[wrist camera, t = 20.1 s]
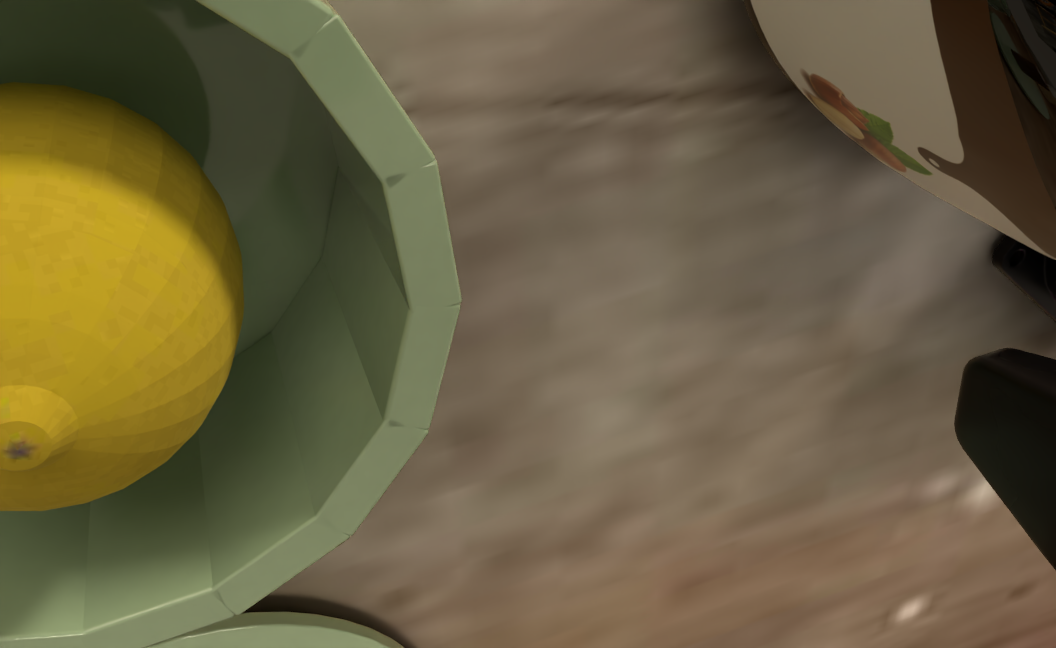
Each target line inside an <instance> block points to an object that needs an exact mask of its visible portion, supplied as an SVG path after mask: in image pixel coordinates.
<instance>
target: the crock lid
mask: <svg viewBox="0 0 1056 648" xmlns="http://www.w3.org/2000/svg"><path fill="white" fill-rule="evenodd" d="M146 648H405V647H403V646H402V645H400V644H399V643H397V642H396V641H395V640H393V639H392V638H390V637H388V636H386V635H384V634H382V633H380V632H378V631H376V630H374V629H371V628H369V627H366V626H363V625H360V624H357V623H354V622H351V621H348V620H345V619H340V618H335V617H329V616H324V615H319V614H310V613H298V612H249V613H241V614H240V615H234V616H233V617H232V618H229V619H227V620H224V621H221V622H218V623H215V624H212V625H209V626H206V627H203V628H201V629H198V630H195V631H192V632H189V633H186V634H183V635H180V636H177V637H174V638H172V639H169V640H166V641H163V642H160V643H157V644H154V645H151V646H148V647H146Z"/></svg>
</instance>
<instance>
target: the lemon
mask: <svg viewBox="0 0 1056 648" xmlns="http://www.w3.org/2000/svg"><path fill="white" fill-rule="evenodd" d="M243 315H244V291H243V269H242V256H241V251H240V247H239V244H238V241H237V238H236V235H235V232H234V230H233V227H232V224H231V221H230V218H229V215H228V213H227V210H226V207H225V204H224V202H223V200H222V198H221V196H220V195H219V193H218V192H217V190H216V189H215V188H214V186H213V185H212V183H211V182H210V180H209V179H208V177H207V176H206V174H205V173H204V172H203V170H202V169H201V167H200V166H199V164H198V163H197V161H196V160H195V159H194V158H193V156H192V155H191V154H190V153H189V152H188V151H187V150H186V149H184V148H183V147H182V146H181V145H180V144H179V143H178V142H177V141H175V140H174V139H173V138H172V137H171V136H170V135H169V134H168V133H166V132H165V131H164V130H163V129H162V128H161V127H160V126H159V125H157V124H156V123H155V122H153V121H151V120H149V119H148V118H146V117H144V116H142V115H140V114H138V113H136V112H135V111H133V110H131V109H129V108H127V107H125V106H123V105H122V104H120V103H118V102H116V101H114V100H112V99H110V98H106V97H103V96H99V95H96V94H92V93H89V92H85V91H82V90H78V89H75V88H71V87H68V86H64V85H50V84H35V83H20V82H10V83H4V84H0V511H45V510H50V509H56V508H62V507H67V506H73V505H78V504H84V503H87V502H90V501H93V500H95V499H98V498H101V497H103V496H106V495H108V494H111V493H114V492H116V491H119V490H122V489H124V488H126V487H127V486H129V485H131V484H132V483H134V482H135V481H137V480H139V479H140V478H142V477H143V476H145V475H147V474H148V473H150V472H151V471H153V470H155V469H156V468H158V467H159V466H161V465H162V464H164V463H165V462H166V461H168V460H169V459H170V458H171V457H172V456H173V455H174V454H175V453H176V452H177V451H178V450H179V449H180V448H181V447H182V446H183V445H184V444H185V443H186V442H187V441H188V440H189V439H190V438H191V437H192V436H193V435H194V434H195V433H196V431H197V430H198V429H199V427H200V426H201V425H202V423H203V422H204V420H205V418H206V417H207V415H208V413H209V411H210V410H211V408H212V406H213V404H214V403H215V401H216V399H217V398H218V396H219V394H220V392H221V391H222V389H223V387H224V385H225V382H226V380H227V378H228V375H229V372H230V369H231V366H232V362H233V358H234V354H235V350H236V346H237V342H238V338H239V334H240V330H241V326H242V321H243Z"/></svg>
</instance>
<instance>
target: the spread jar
mask: <svg viewBox="0 0 1056 648" xmlns="http://www.w3.org/2000/svg"><path fill="white" fill-rule="evenodd" d="M743 1H744V4H745V7H746V9H747V12H748V15H749V18H750V20H751V22H752V24H753V26H754V28H755V30H756V33H757V34H758V36H759V38H760V40H761V41H762V43H763V45H764V47H765V48H766V50H767V51H768V53H769V54H770V56H771V57H772V59H773V60H774V61H775V63H776V64H777V66H778V67H779V68H780V70H781V71H782V72H783V73H784V75H785V76H786V77H787V78H788V79H789V80H790V82H791V83H792V84H793V85H794V86H795V87H796V88H797V89H798V90H799V91H800V92H801V93H802V94H803V95H804V96H805V97H806V98H807V99H808V100H809V101H810V102H811V103H812V104H813V105H814V106H815V107H816V108H817V109H818V110H819V111H820V112H821V113H822V114H823V115H824V116H825V117H826V118H827V119H829V120H830V121H831V122H832V123H833V124H834V125H835V126H836V127H837V128H839V129H840V130H841V131H842V132H843V133H844V134H845V135H847V136H848V137H849V138H850V139H852V140H853V141H854V142H856V143H857V144H858V145H860V146H861V147H862V148H864V149H865V150H866V151H867V152H869V153H870V154H871V155H873V156H874V157H875V158H877V159H878V160H879V161H880V162H882V163H883V164H885V165H886V166H888V167H890V168H891V169H893V170H894V171H896V172H898V173H899V174H901V175H902V176H904V177H906V178H907V179H909V180H910V181H912V182H913V183H915V184H917V185H918V186H920V187H921V188H923V189H925V190H926V191H928V192H930V193H932V194H933V195H935V196H937V197H939V198H940V199H942V200H944V201H946V202H947V203H949V204H951V205H953V206H955V207H957V208H958V209H960V210H962V211H964V212H966V213H968V214H969V215H971V216H973V217H975V218H977V219H979V220H981V221H982V222H984V223H986V224H988V225H990V226H991V227H993V228H995V229H997V230H998V231H1000V232H1002V233H1004V234H1006V235H1007V236H1009V237H1011V238H1013V239H1015V240H1017V241H1019V242H1021V243H1023V244H1024V245H1026V246H1028V247H1030V248H1032V249H1034V250H1036V251H1038V252H1040V253H1042V254H1044V255H1046V256H1048V257H1050V258H1053V259H1055V260H1056V0H743Z"/></svg>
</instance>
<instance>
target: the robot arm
mask: <svg viewBox="0 0 1056 648" xmlns="http://www.w3.org/2000/svg"><path fill="white" fill-rule="evenodd" d="M992 262H993V264H994V266H995V267H996V268H997V269H998V270H999V271H1000V272H1002V273H1003V274H1004V275H1005V276H1006V277H1007V278H1008V279H1009V280H1010V281H1011V282H1012V283H1014V284H1015V285H1016V286H1017V287H1018V288H1019V289H1020V290H1021V291H1022V292H1023V293H1025V294H1026V295H1027V296H1028V297H1029V298H1030V299H1031V300H1032V301H1033V302H1034V303H1035V304H1037V305H1038V306H1039V307H1040V308H1041V309H1042V310H1043V311H1044V312H1045V313H1046V314H1047V315H1049V316H1050V317H1051V318H1052V319H1053V320H1054V321H1055V322H1056V260H1055V259H1053V258H1050V257H1048V256H1046V255H1044V254H1042V253H1040V252H1038V251H1036V250H1034V249H1032V248H1030V247H1028V246H1026V245H1024V244H1023V243H1021V242H1019V241H1017V240H1015V239H1013V238H1011V237H1009V236H1006V237H1005V238H1004V239H1003V240H1002V241H1001V243H1000V244H999V245H998V246H997V248H996V249H995V251H994V254H993V256H992ZM954 426H955V432H956V436H957V439H958V441H959V443H960V445H961V446H962V448H963V450H964V451H965V452H966V453H967V455H968V456H969V457H970V459H971V460H972V461H973V463H974V464H975V465H976V467H977V468H978V469H979V471H980V472H981V473H982V475H983V476H984V477H985V479H986V480H987V481H988V483H989V484H990V485H991V487H992V488H993V489H994V491H995V492H996V493H997V495H998V496H999V497H1000V498H1001V500H1002V501H1003V502H1004V504H1005V505H1006V506H1007V508H1008V509H1009V510H1010V512H1011V513H1012V514H1013V516H1014V517H1015V518H1016V520H1017V521H1018V522H1019V524H1020V525H1021V526H1022V528H1023V529H1024V530H1025V532H1026V533H1027V534H1028V536H1029V537H1030V538H1031V540H1032V541H1033V542H1034V543H1035V545H1036V546H1037V547H1038V549H1039V550H1040V551H1041V553H1042V554H1043V555H1044V556H1045V558H1046V559H1047V560H1048V561H1049V563H1050V564H1051V565H1052V566H1053V568H1054V569H1055V570H1056V360H1055V359H1051V358H1048V357H1044V356H1040V355H1036V354H1033V353H1029V352H1025V351H1021V350H1018V349H1013V348H1003V349H998V350H995V351H992V352H989V353H987V354H984V355H981V356H978V357H975V358H973V359H971V360H970V361H969V362H968V363H967V365H966V366H965V368H964V371H963V375H962V381H961V386H960V392H959V398H958V403H957V409H956V415H955V421H954Z"/></svg>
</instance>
